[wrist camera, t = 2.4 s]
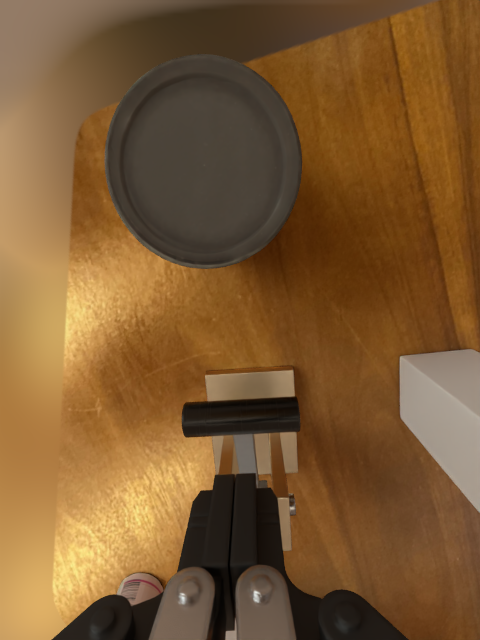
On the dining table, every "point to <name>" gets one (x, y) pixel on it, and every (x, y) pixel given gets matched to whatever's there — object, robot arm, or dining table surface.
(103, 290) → the dining table surface
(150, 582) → the beverage can
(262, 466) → the lever bracket
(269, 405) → the lever handle
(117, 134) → the coffee can
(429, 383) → the milk carton
